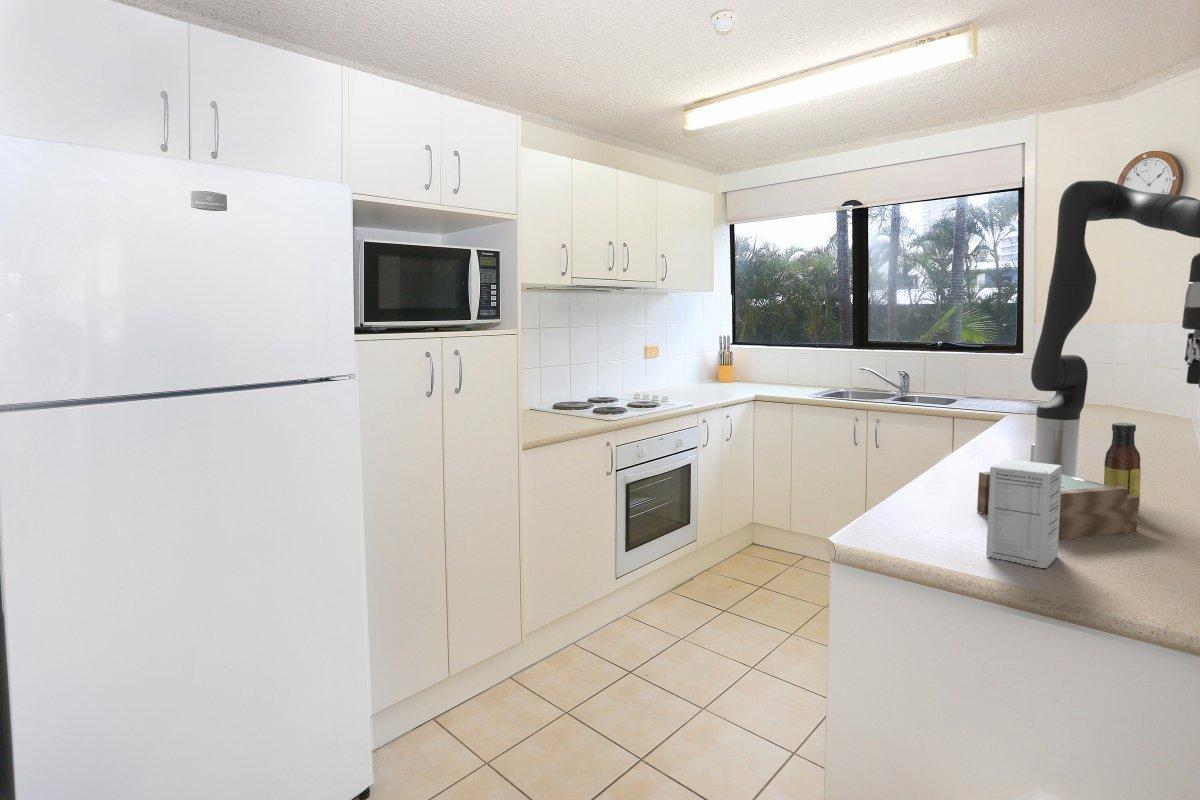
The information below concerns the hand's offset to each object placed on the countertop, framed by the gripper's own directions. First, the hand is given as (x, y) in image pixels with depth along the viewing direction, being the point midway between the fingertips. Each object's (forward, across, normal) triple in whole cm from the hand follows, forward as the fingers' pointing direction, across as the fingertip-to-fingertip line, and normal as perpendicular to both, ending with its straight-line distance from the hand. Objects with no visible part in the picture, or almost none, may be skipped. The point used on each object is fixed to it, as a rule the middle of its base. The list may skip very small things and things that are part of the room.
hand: (1199, 386), depth 133 cm
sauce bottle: (+29, -2, -10) cm, 31 cm away
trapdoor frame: (+29, +11, -23) cm, 39 cm away
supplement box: (+28, +38, -31) cm, 57 cm away
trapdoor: (+21, +11, -24) cm, 34 cm away
